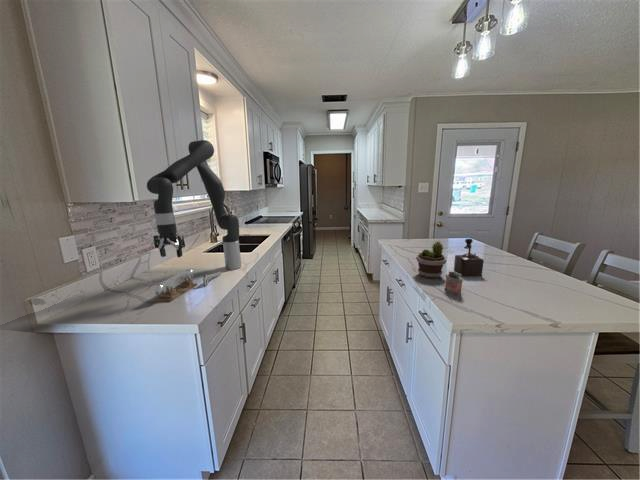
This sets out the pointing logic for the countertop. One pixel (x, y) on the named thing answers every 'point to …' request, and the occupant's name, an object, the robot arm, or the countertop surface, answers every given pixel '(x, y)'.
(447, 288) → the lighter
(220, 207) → the robot arm
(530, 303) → the countertop surface
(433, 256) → the flowerpot
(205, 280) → the caliper
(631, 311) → the countertop surface
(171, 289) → the tool rest
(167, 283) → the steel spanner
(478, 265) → the brown box with post
